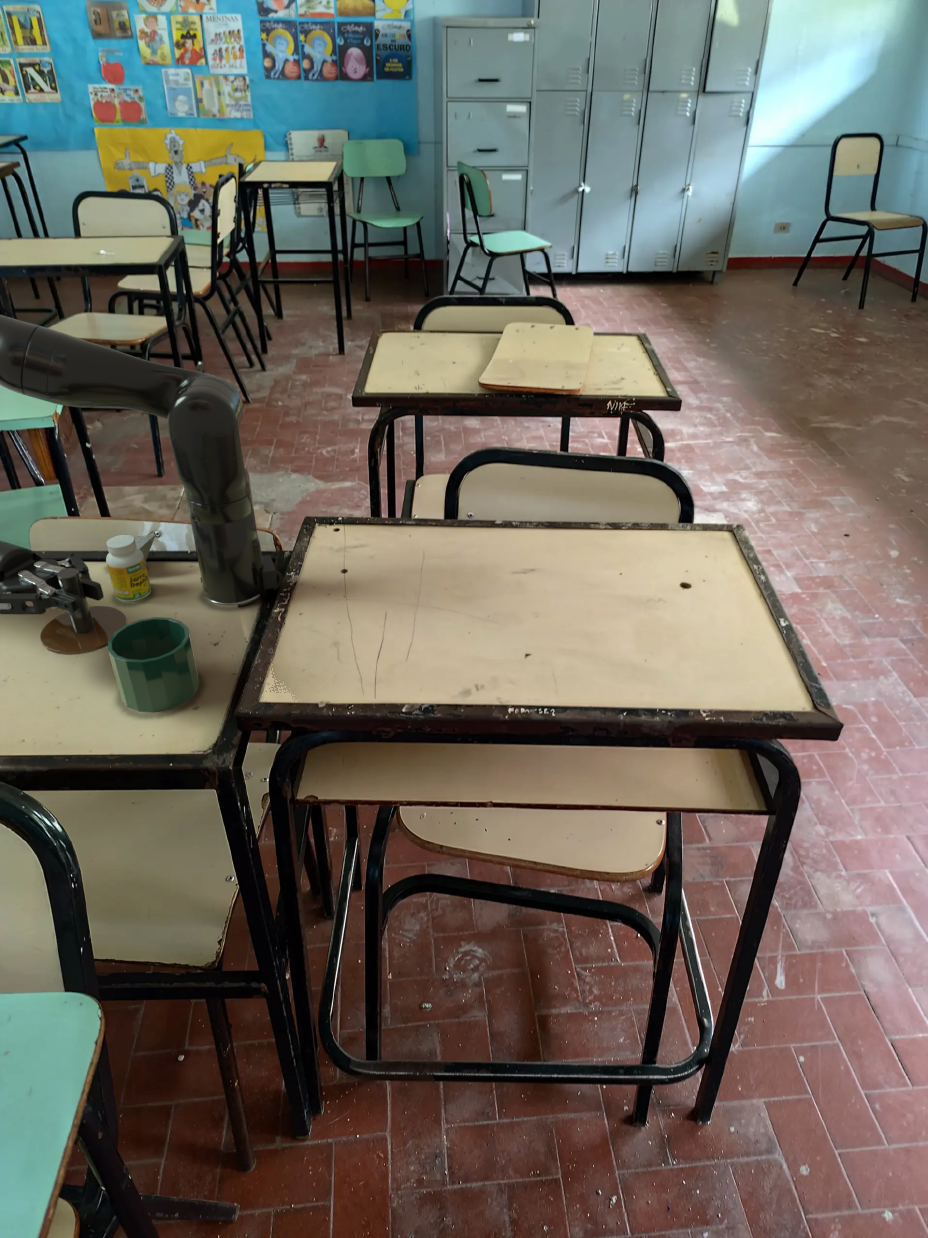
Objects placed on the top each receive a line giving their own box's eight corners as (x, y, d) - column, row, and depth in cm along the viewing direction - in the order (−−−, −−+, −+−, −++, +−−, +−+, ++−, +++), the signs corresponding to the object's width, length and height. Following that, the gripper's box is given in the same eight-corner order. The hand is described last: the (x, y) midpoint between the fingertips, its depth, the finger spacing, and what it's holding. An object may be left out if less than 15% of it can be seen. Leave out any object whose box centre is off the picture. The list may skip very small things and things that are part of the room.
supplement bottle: (131, 583, 134) (118, 529, 129) (159, 590, 133) (147, 536, 127) (108, 600, 130) (93, 545, 125) (136, 607, 129) (122, 552, 123)
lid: (128, 606, 119) (112, 546, 114) (129, 649, 111) (112, 587, 105) (45, 620, 116) (25, 559, 111) (39, 665, 108) (17, 602, 102)
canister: (196, 663, 117) (186, 611, 112) (202, 706, 109) (191, 653, 105) (121, 676, 114) (107, 624, 110) (122, 721, 107) (107, 668, 102)
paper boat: (85, 559, 138) (123, 524, 143) (115, 588, 141) (151, 552, 146) (114, 544, 129) (153, 507, 135) (144, 575, 132) (182, 537, 137)
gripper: (-59, 567, 108) (38, 600, 101) (31, 522, 118) (124, 549, 112) (-40, 616, 112) (55, 651, 106) (45, 568, 122) (136, 597, 116)
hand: (90, 598), depth 109 cm, fingers closed on lid, 2 cm apart
